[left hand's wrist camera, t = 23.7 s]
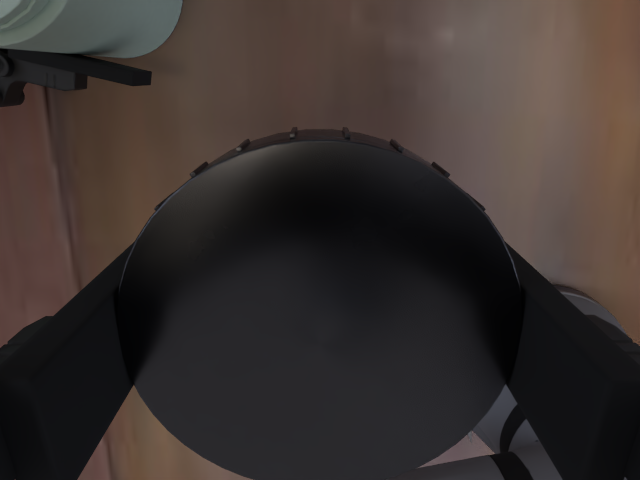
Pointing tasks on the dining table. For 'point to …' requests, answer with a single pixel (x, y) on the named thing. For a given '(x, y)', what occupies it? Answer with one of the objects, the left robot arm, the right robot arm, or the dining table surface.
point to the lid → (319, 309)
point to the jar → (88, 26)
